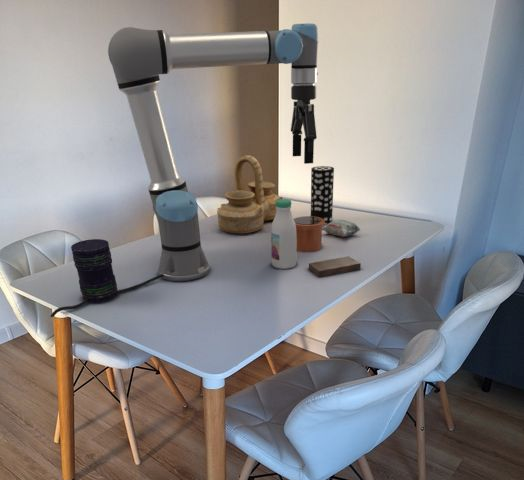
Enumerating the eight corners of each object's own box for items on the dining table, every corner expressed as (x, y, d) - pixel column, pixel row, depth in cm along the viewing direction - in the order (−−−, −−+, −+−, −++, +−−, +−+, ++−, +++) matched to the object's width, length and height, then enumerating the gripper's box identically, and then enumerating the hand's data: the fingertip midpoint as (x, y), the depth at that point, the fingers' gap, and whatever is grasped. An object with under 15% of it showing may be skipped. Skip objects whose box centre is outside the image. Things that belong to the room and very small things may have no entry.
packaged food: (344, 241, 178) (345, 227, 175) (319, 234, 185) (320, 220, 183) (360, 235, 183) (361, 222, 180) (335, 229, 190) (336, 216, 188)
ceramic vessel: (253, 238, 184) (250, 166, 171) (209, 233, 191) (203, 163, 179) (291, 214, 210) (290, 149, 197) (251, 210, 217) (248, 147, 205)
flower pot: (299, 254, 168) (299, 227, 163) (285, 244, 177) (285, 218, 172) (329, 249, 171) (330, 222, 167) (314, 239, 180) (314, 214, 176)
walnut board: (319, 277, 150) (319, 271, 149) (308, 269, 156) (308, 263, 155) (360, 269, 155) (360, 263, 154) (348, 262, 160) (348, 256, 159)
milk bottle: (297, 260, 163) (297, 197, 153) (295, 269, 156) (295, 203, 146) (272, 260, 164) (271, 197, 154) (270, 269, 157) (269, 203, 147)
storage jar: (125, 295, 143) (115, 244, 136) (93, 307, 137) (81, 253, 130) (107, 286, 150) (97, 236, 142) (76, 296, 144) (64, 245, 136)
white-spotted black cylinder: (307, 220, 201) (308, 167, 191) (326, 217, 203) (328, 165, 193) (315, 226, 195) (316, 171, 184) (335, 223, 197) (337, 169, 187)
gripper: (329, 86, 143) (326, 165, 153) (304, 82, 164) (302, 152, 174) (303, 87, 141) (302, 167, 152) (281, 83, 163) (281, 154, 173)
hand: (302, 159), depth 163 cm, fingers open, 13 cm apart
